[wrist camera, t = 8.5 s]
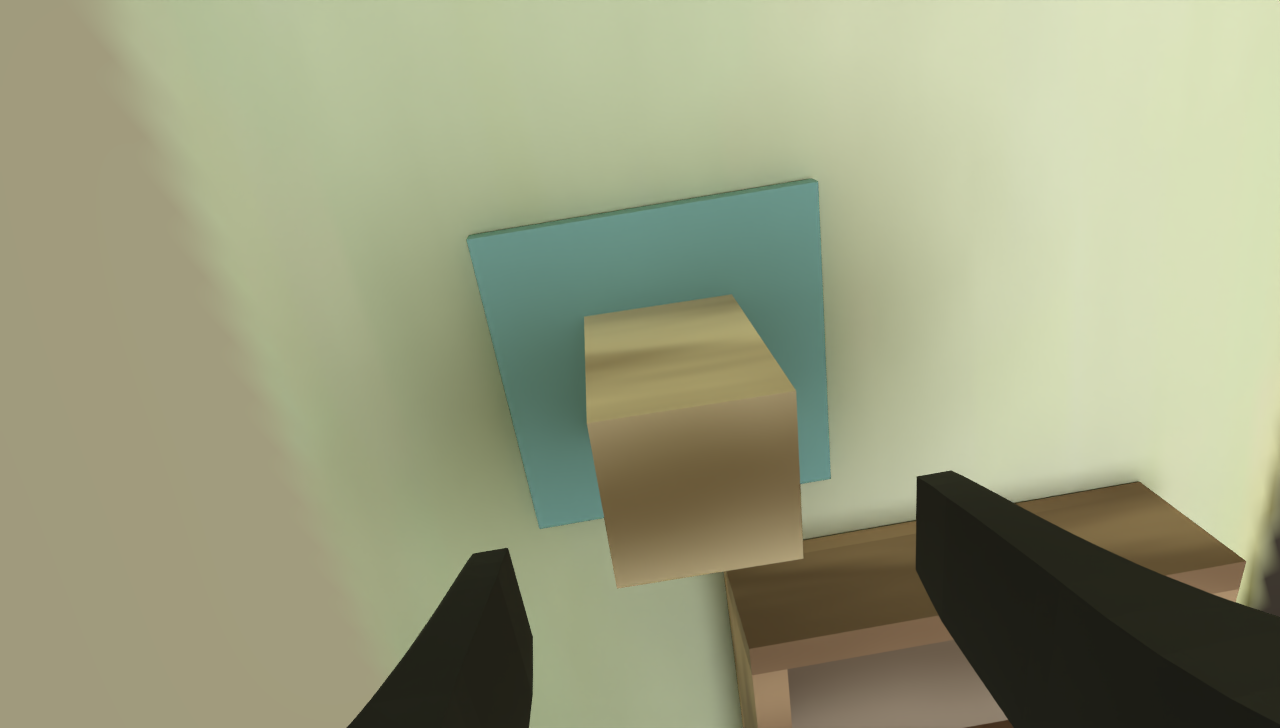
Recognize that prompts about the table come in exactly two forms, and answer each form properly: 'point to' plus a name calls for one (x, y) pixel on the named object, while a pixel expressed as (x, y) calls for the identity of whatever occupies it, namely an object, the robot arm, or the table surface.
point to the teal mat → (637, 278)
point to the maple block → (691, 441)
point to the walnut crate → (917, 617)
